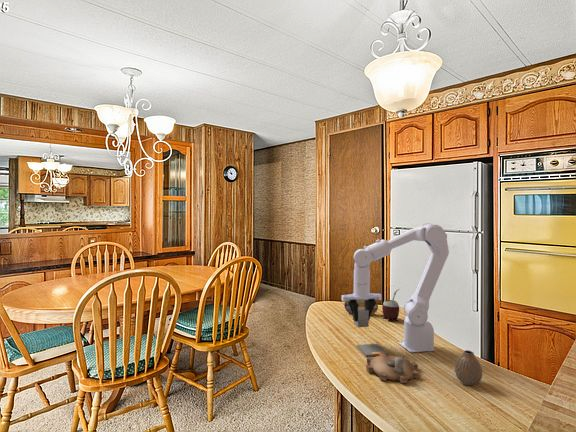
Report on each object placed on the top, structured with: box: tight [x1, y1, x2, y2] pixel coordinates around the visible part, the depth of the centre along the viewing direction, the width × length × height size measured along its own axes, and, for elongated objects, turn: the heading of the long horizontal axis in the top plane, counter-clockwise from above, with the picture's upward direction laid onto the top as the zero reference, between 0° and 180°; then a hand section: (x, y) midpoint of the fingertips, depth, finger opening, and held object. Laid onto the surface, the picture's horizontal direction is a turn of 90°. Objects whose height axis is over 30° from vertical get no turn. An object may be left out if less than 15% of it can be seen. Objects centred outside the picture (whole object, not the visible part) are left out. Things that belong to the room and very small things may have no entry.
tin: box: [343, 300, 379, 316], centre depth 155 cm, size 15×3×8 cm, turn 81°
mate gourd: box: [382, 288, 400, 323], centre depth 147 cm, size 8×8×15 cm
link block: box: [353, 307, 370, 328], centre depth 122 cm, size 4×4×6 cm
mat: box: [356, 343, 390, 358], centre depth 116 cm, size 8×8×1 cm
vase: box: [454, 349, 483, 387], centre depth 96 cm, size 7×7×9 cm
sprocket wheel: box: [366, 354, 421, 384], centre depth 102 cm, size 16×16×5 cm
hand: (361, 320), depth 122 cm, fingers closed on link block, 4 cm apart
